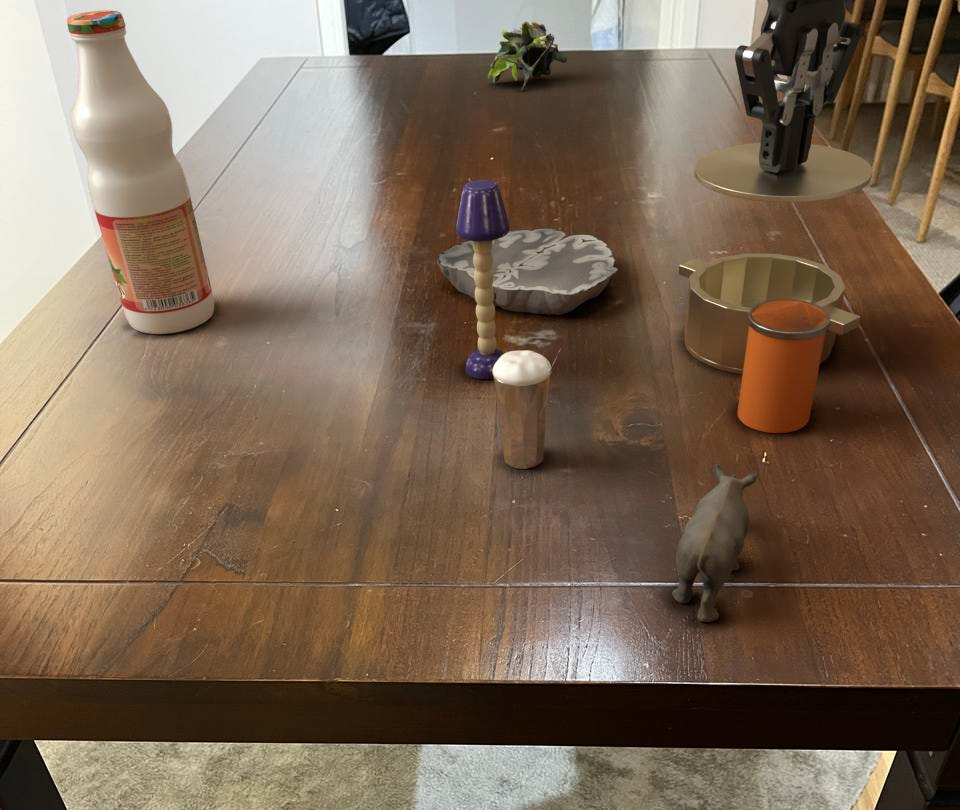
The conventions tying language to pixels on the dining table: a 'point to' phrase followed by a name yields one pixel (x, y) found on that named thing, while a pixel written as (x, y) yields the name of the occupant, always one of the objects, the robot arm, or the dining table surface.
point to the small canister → (781, 364)
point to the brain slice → (536, 270)
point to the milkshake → (522, 405)
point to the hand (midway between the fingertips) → (783, 165)
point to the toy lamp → (483, 265)
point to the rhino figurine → (713, 541)
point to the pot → (753, 302)
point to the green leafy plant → (526, 53)
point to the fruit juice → (137, 183)
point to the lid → (805, 182)
